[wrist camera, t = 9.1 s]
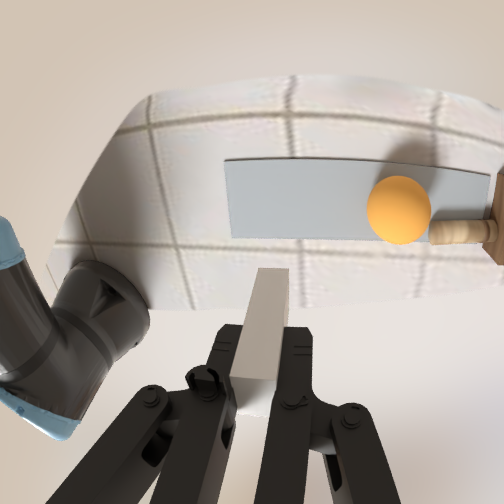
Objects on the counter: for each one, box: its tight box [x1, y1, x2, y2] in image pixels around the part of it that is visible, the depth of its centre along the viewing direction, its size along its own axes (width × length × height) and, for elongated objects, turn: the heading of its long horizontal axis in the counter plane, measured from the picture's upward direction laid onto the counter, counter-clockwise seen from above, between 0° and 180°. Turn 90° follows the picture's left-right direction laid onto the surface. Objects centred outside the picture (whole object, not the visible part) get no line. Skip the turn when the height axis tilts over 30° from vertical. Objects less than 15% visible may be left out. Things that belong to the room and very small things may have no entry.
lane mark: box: [224, 159, 490, 244], centre depth 25 cm, size 28×8×1 cm, turn 94°
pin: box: [428, 219, 498, 245], centre depth 23 cm, size 2×2×8 cm
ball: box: [367, 176, 431, 245], centre depth 22 cm, size 6×6×6 cm
